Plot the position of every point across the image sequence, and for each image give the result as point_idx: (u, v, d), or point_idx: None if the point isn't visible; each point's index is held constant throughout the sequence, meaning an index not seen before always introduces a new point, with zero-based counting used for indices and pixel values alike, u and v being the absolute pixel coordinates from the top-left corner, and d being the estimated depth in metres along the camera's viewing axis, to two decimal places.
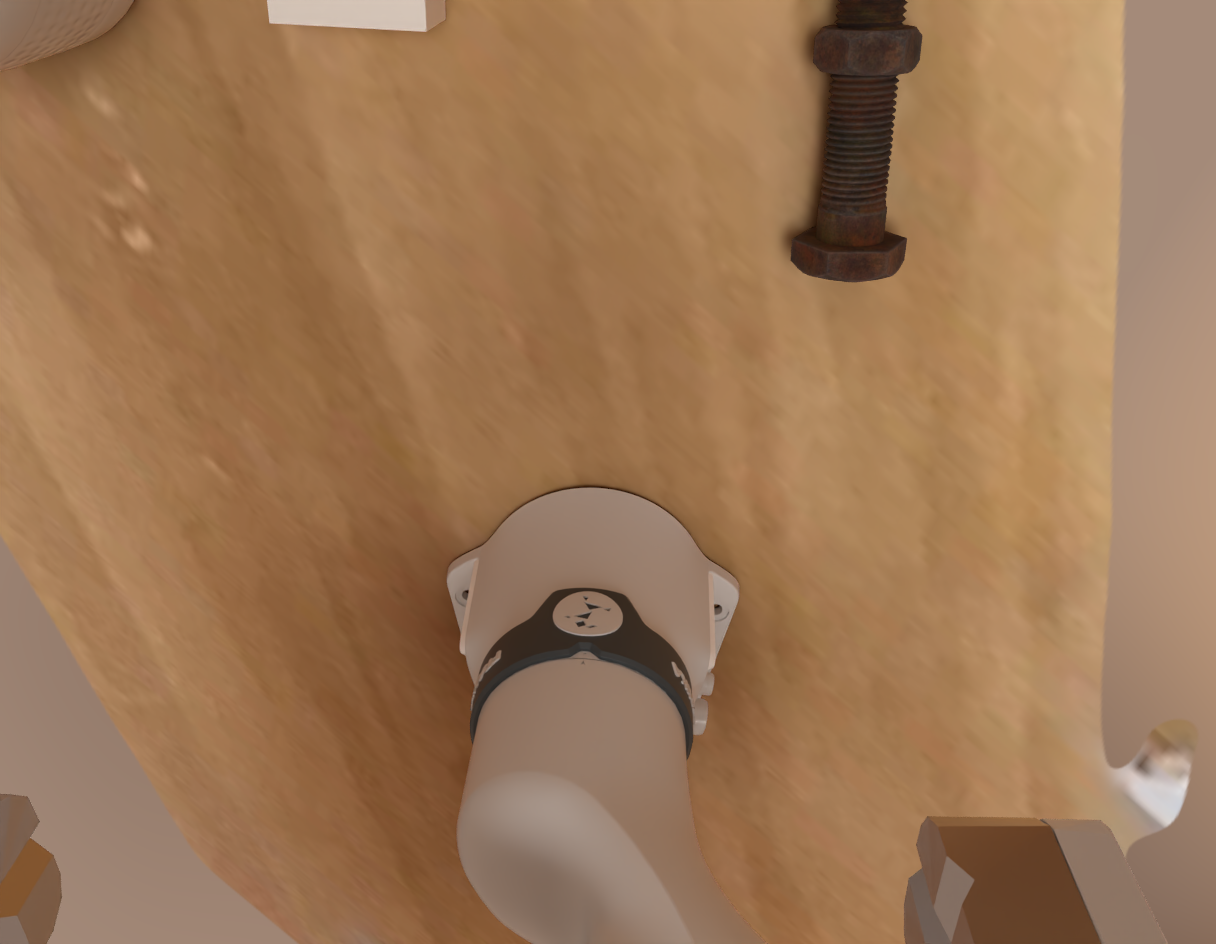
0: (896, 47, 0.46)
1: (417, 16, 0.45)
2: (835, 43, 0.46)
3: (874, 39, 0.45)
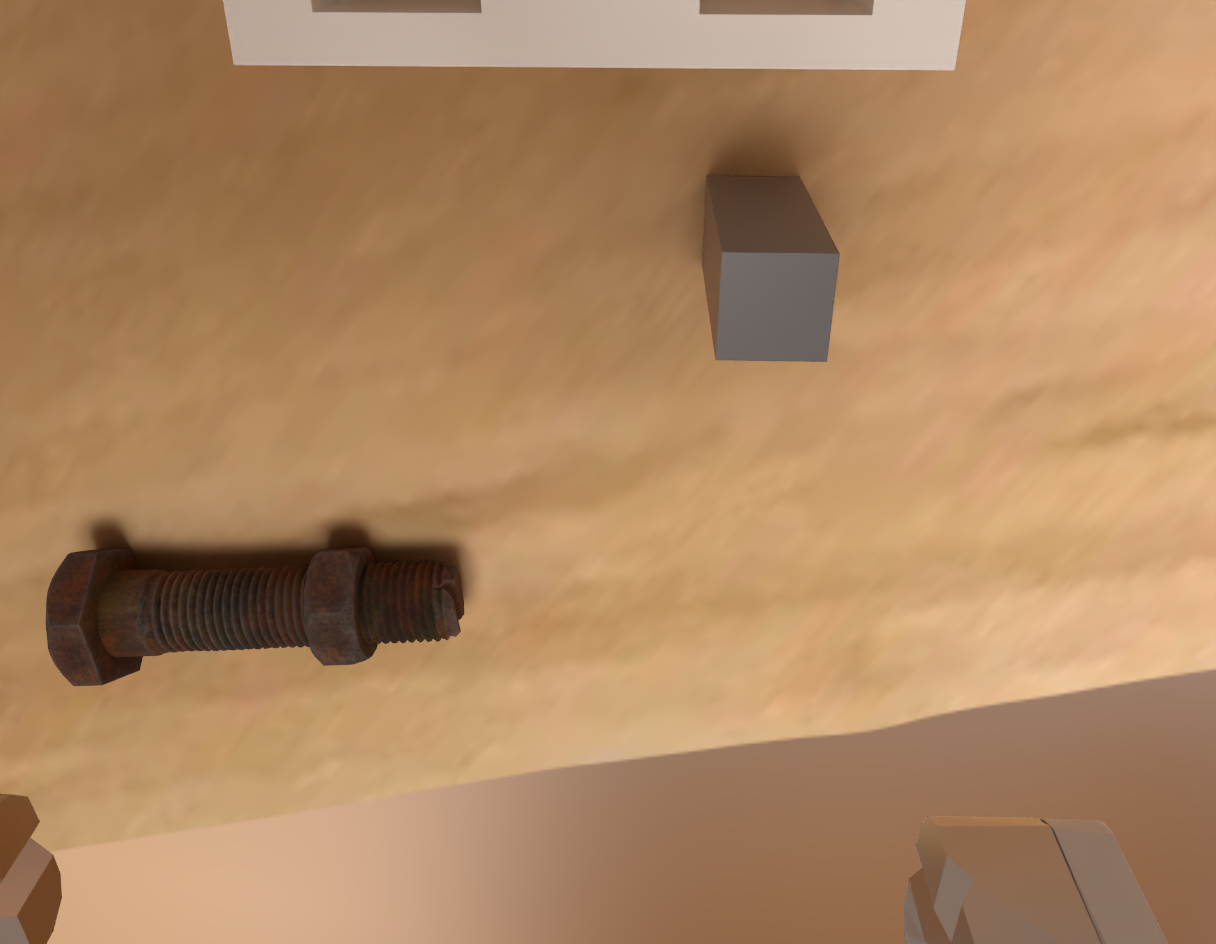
0: (342, 657, 0.38)
1: (253, 50, 0.27)
2: (338, 588, 0.38)
3: (346, 635, 0.38)
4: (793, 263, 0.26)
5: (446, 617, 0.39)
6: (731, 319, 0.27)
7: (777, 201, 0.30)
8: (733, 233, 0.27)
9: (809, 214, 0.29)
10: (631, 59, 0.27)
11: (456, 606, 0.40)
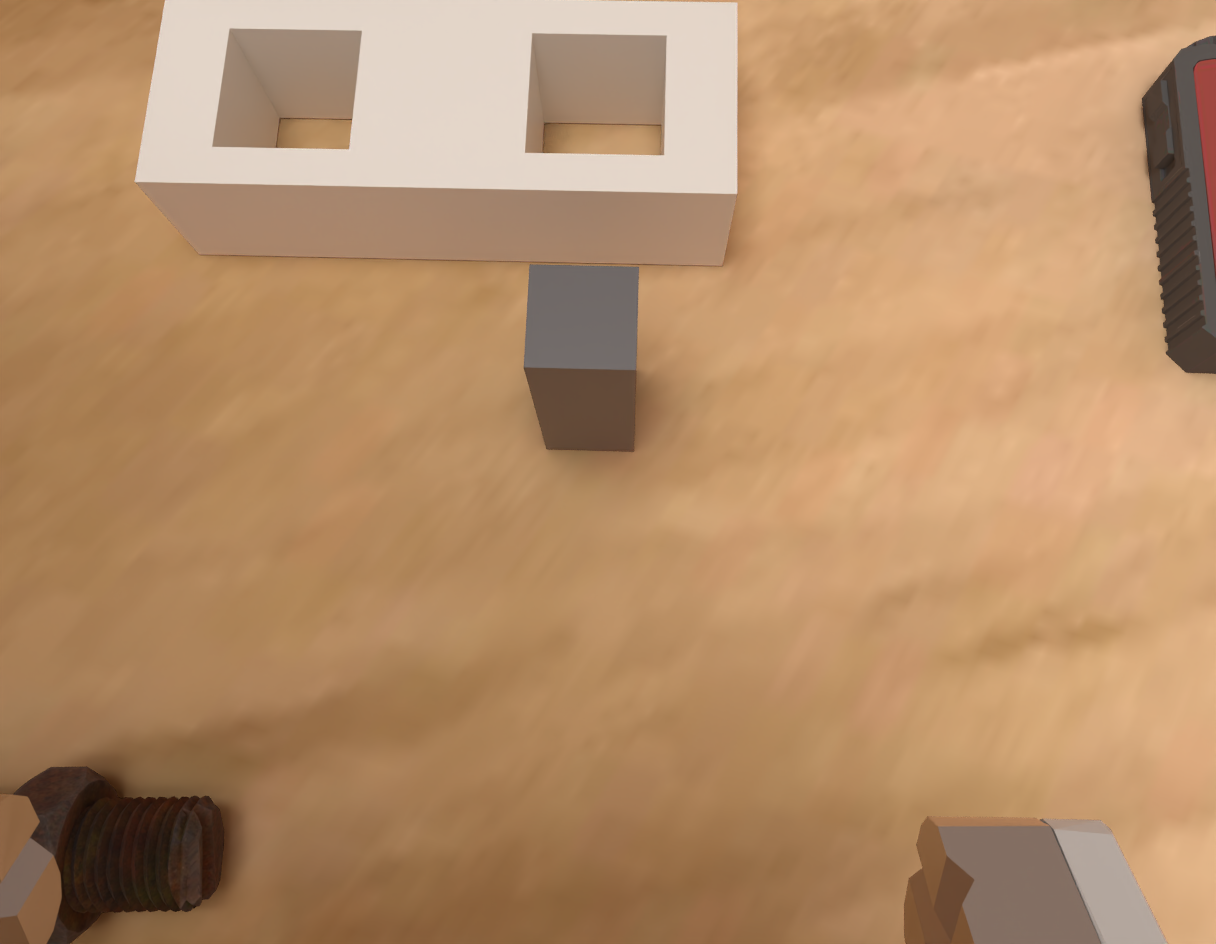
0: None
1: (155, 171, 0.32)
2: (56, 795, 0.29)
3: None
4: (596, 275, 0.28)
5: (186, 855, 0.29)
6: (539, 326, 0.27)
7: None
8: None
9: None
10: (468, 182, 0.32)
11: (206, 868, 0.30)
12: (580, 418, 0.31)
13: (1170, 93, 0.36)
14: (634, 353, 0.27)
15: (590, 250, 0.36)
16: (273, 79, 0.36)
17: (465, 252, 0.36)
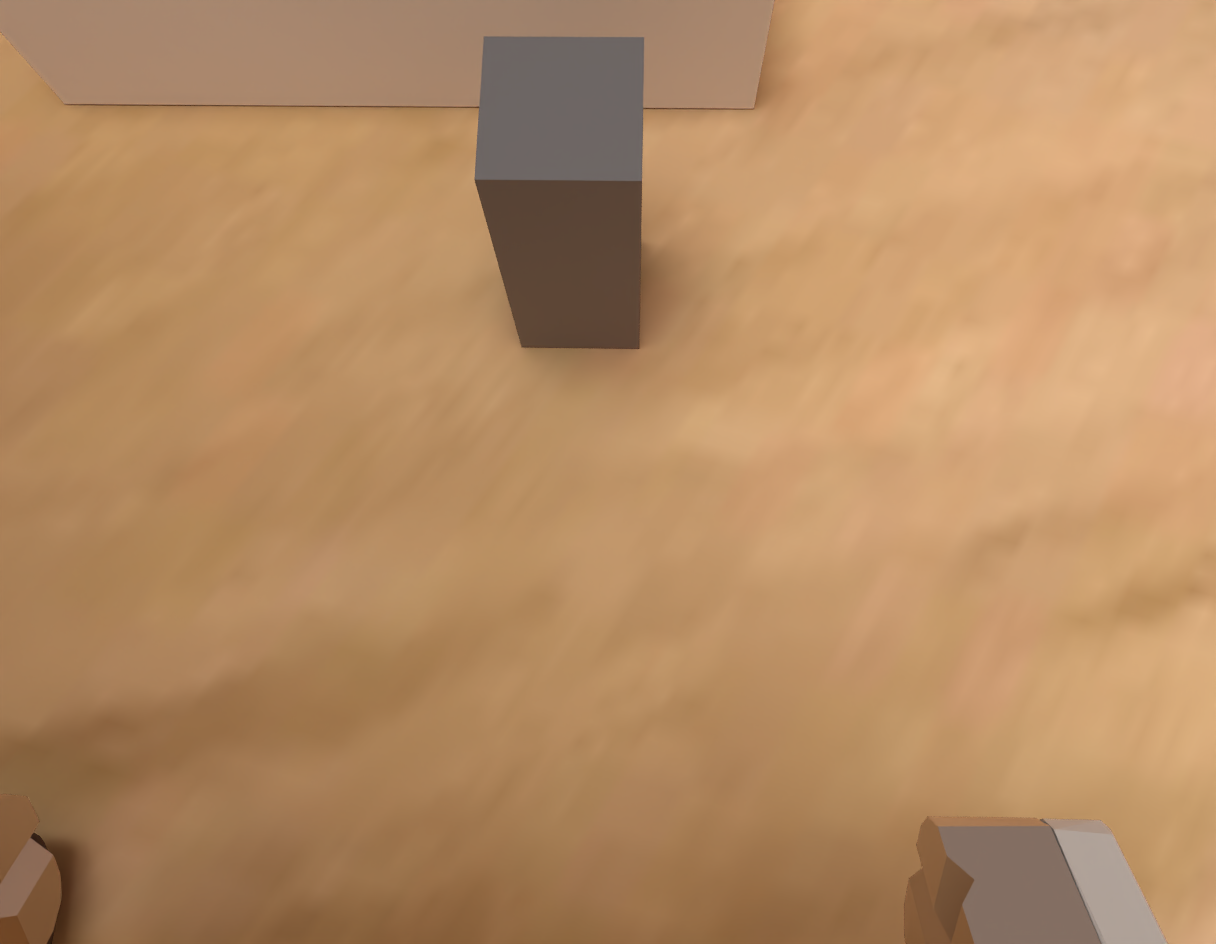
0: None
1: None
2: None
3: None
4: (581, 49, 0.19)
5: None
6: (497, 122, 0.18)
7: None
8: None
9: None
10: None
11: None
12: (564, 287, 0.22)
13: None
14: (639, 157, 0.18)
15: None
16: None
17: (412, 92, 0.27)
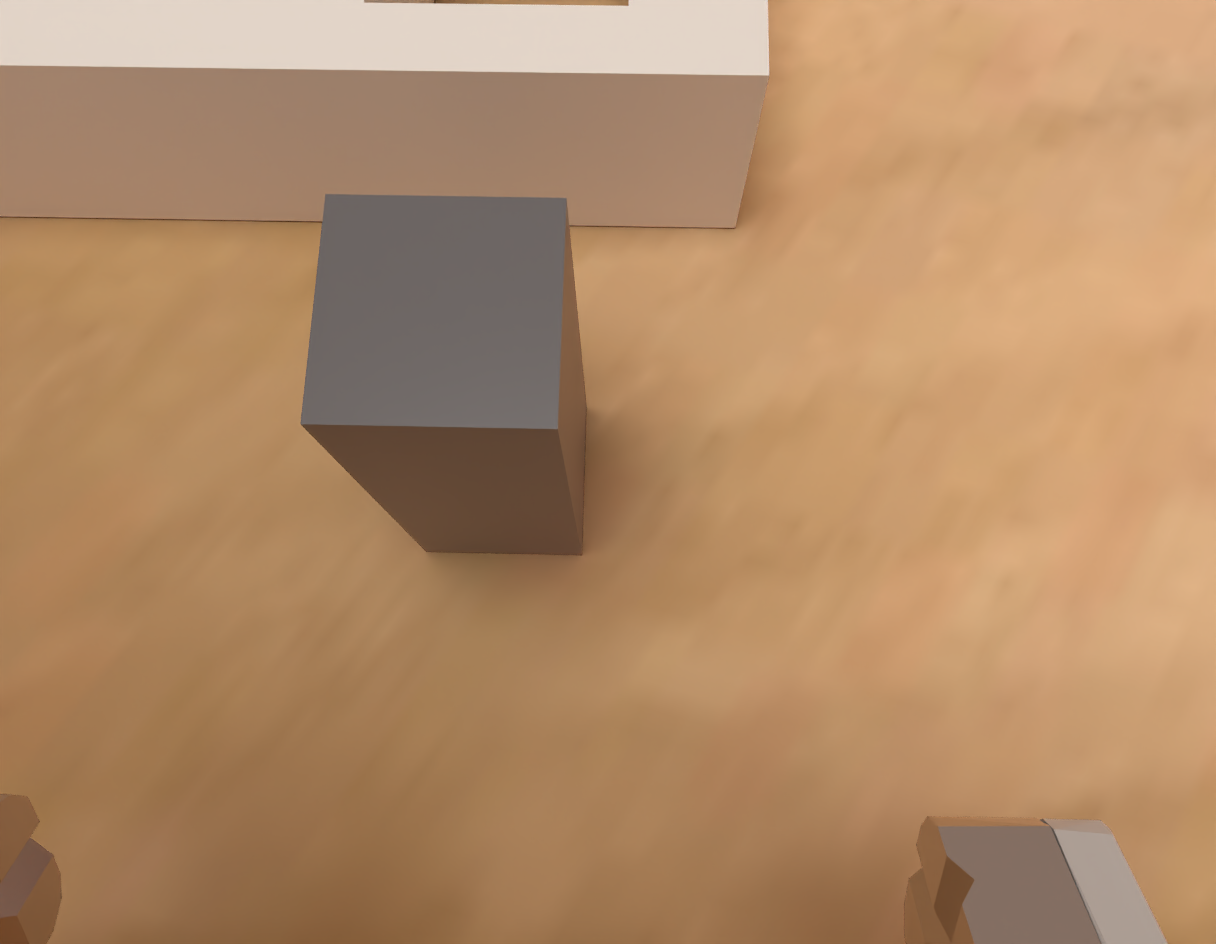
0: None
1: None
2: None
3: None
4: (472, 217, 0.12)
5: None
6: (340, 331, 0.12)
7: None
8: None
9: None
10: (253, 57, 0.17)
11: None
12: (468, 511, 0.16)
13: None
14: (554, 390, 0.12)
15: None
16: None
17: (290, 206, 0.21)
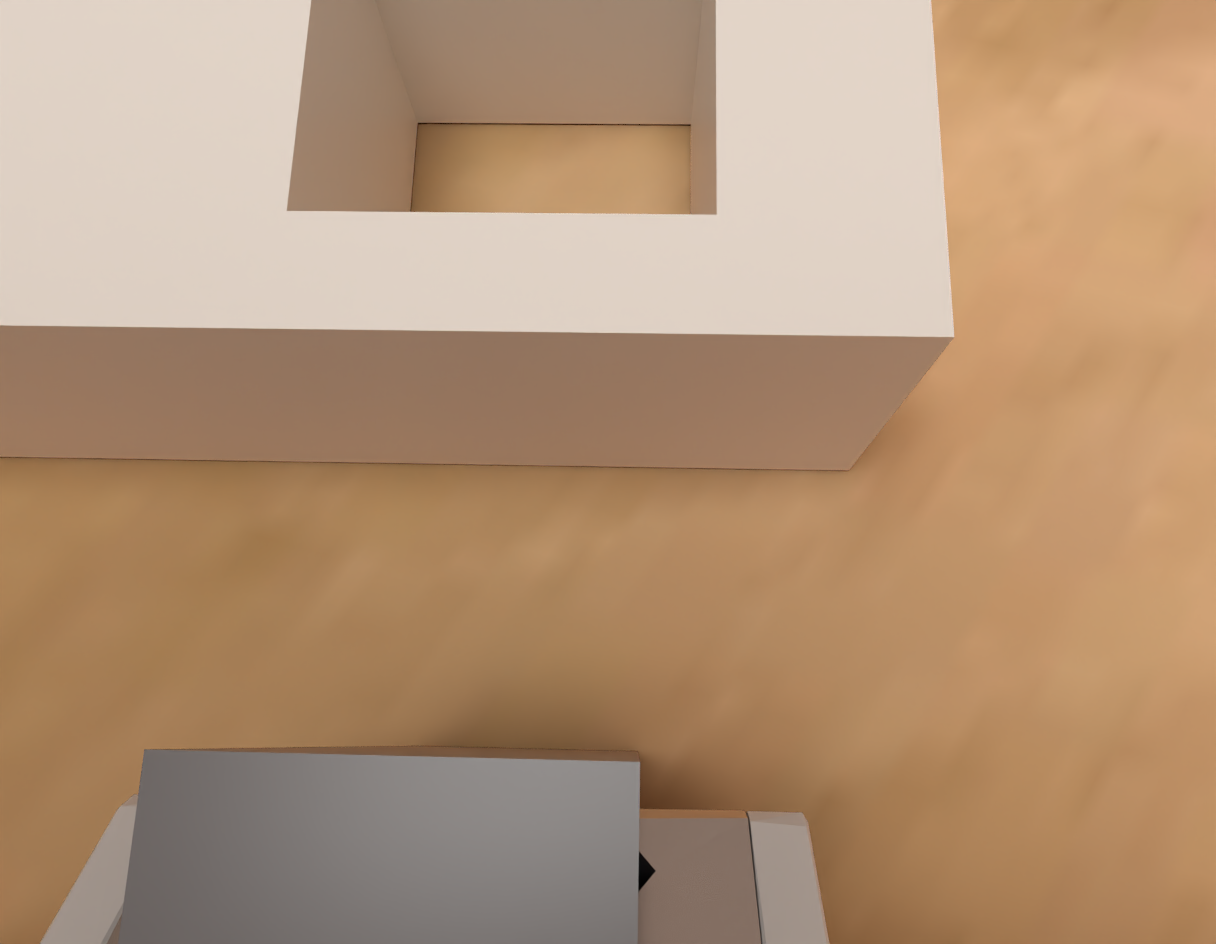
0: None
1: None
2: None
3: None
4: (444, 806, 0.06)
5: None
6: None
7: None
8: (299, 749, 0.08)
9: (610, 754, 0.10)
10: (105, 307, 0.10)
11: None
12: None
13: None
14: None
15: (517, 446, 0.14)
16: None
17: (206, 448, 0.14)
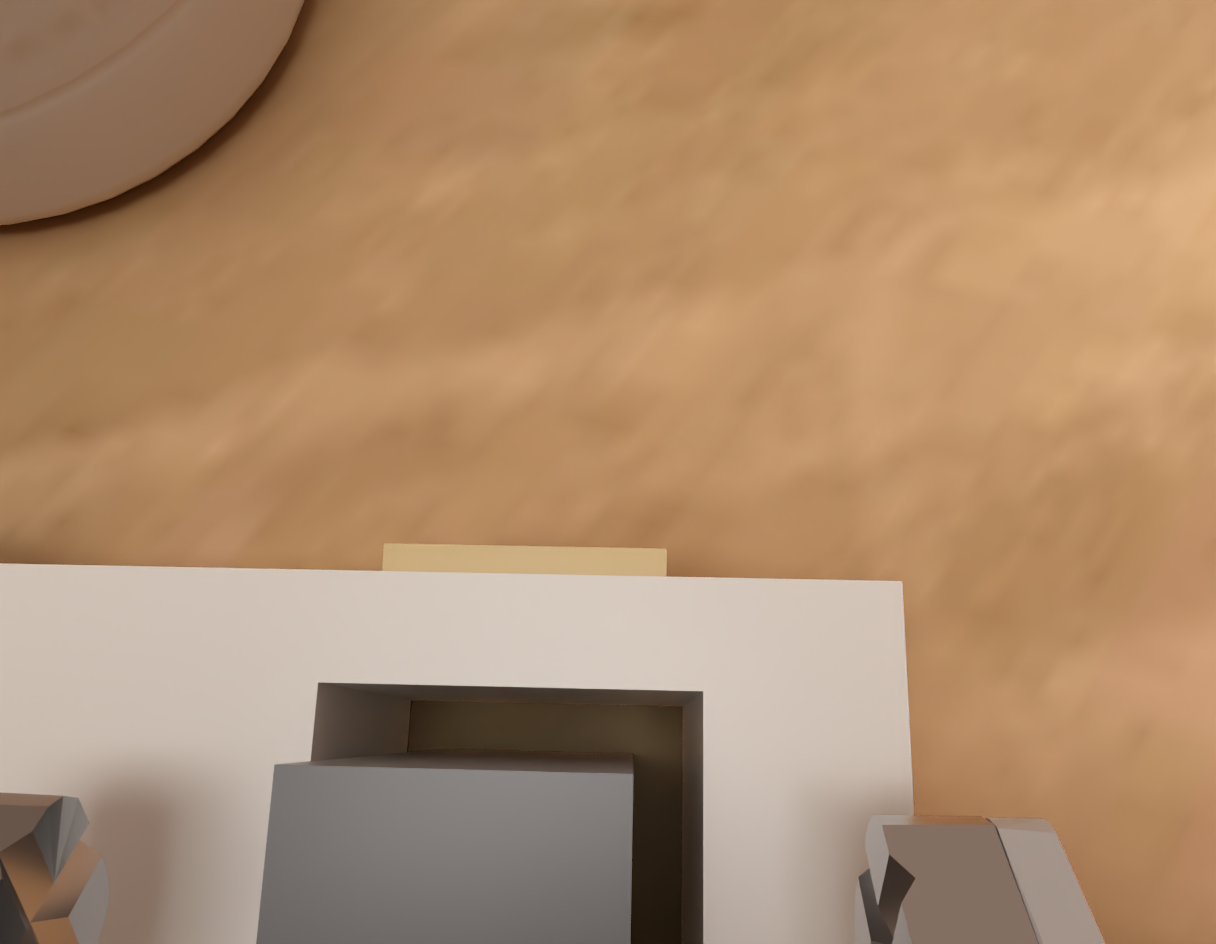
0: None
1: None
2: None
3: None
4: (492, 806, 0.08)
5: None
6: None
7: (553, 756, 0.13)
8: (372, 760, 0.10)
9: (609, 760, 0.12)
10: None
11: None
12: None
13: None
14: None
15: None
16: None
17: None
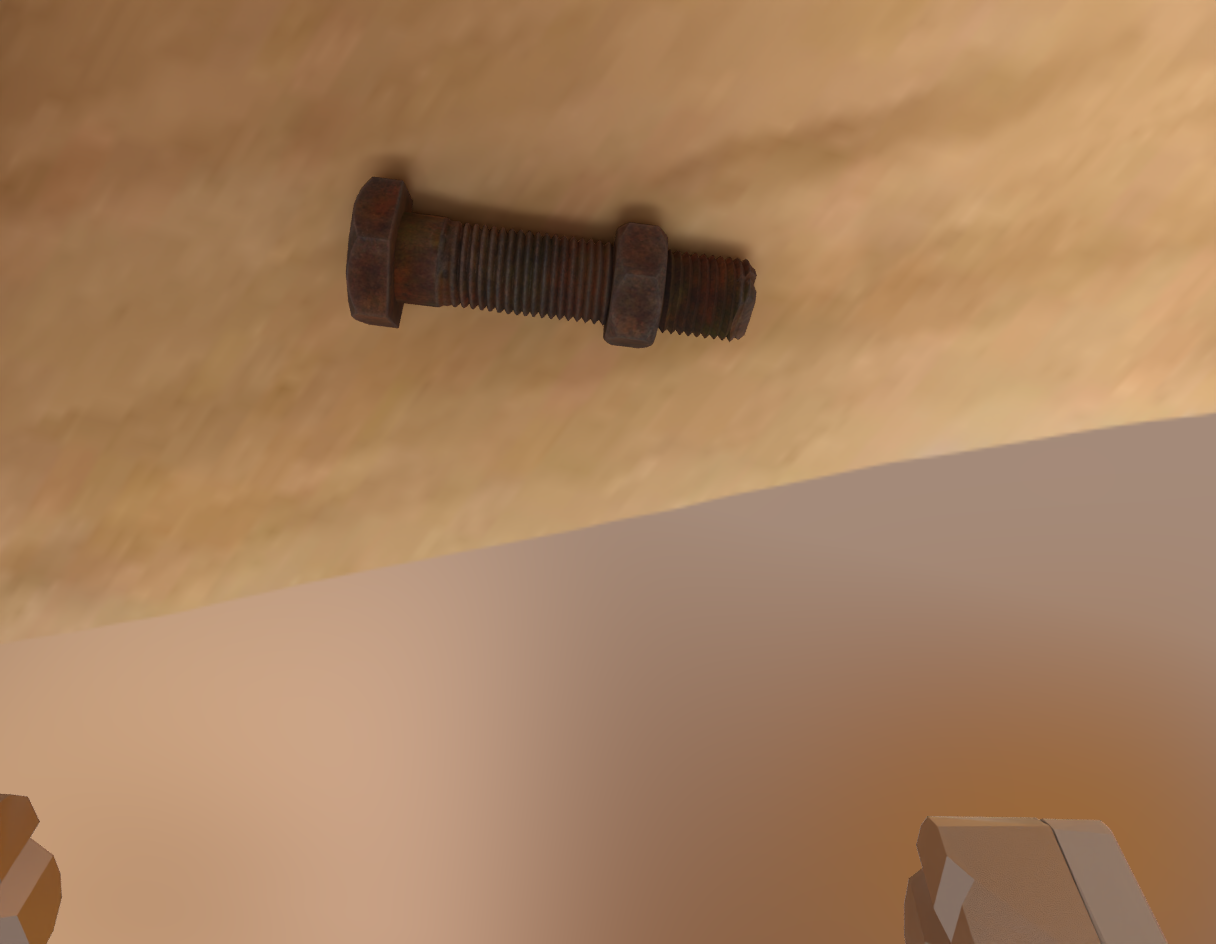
0: (639, 330, 0.38)
1: None
2: (652, 256, 0.37)
3: (652, 305, 0.37)
4: None
5: (744, 311, 0.38)
6: None
7: None
8: None
9: None
10: None
11: None
12: None
13: None
14: None
15: None
16: None
17: None
